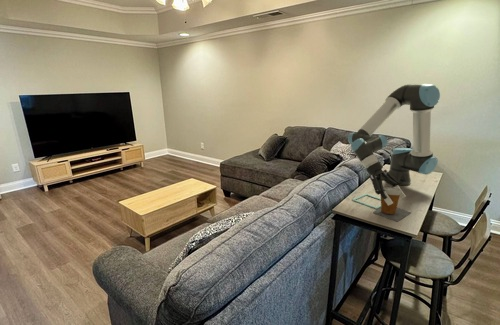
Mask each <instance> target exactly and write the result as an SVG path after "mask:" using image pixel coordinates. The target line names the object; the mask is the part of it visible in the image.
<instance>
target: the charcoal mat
mask: <svg viewBox="0 0 500 325" xmlns="http://www.w3.org/2000/svg"><path fill="white" fill-rule="evenodd" d="M372 213H373V214H376V215H379V216H380V217H383V218H386V219H389V220H392V221H393V222H396V223H398V222H399V221H401V220H402V219H404V218H406V217H407V216H409V215H410V214H412V211H410V210H406V209H403V208H400V207H397V208H396V212H395V214H387V213H384V212H382V211H381V207H380V208H378V209H375V210H374V211H373V212H372Z"/></svg>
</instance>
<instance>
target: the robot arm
mask: <svg viewBox="0 0 500 325" xmlns="http://www.w3.org/2000/svg"><path fill="white" fill-rule="evenodd" d="M440 98H441V93H440V89H439V87H437V86H436V84H435V85H434V84H429V83H420V84H419V83H418V84H417V83H416V84H415V83H414V84H413V83H411V84H410V83H409V84H404V85H402V86H400V87H398V88H396V89H395V90H393V91H392V92H391V93H389V95H387V97H386V98H385V101H384V103H383V104H382V105H381V106H380V107H379V108H378V109H377V110H376V111H375V112H374V113H373V114H372V115H371V116H370V118H369V119H368V120H366V122H365V123H364V124H363V125H362V126H361V127H360V128H359V129H358V130H357V132H354V131H353V132H351V133H349V135H348V137H347V141H348V143H349V144H350V148H351V150H352V152H353V153H354V155H355V156H356V158H358V160H359V161H360V163H361V164H362V166H363V167H364V168H365V170H366V172H367V173H368V174H369V175H370V176H368V177H369V179H370V180H371V182H372V186H373V189H374V192H375V194H376V195H377V196H378V195H380V197H381V196H382V198H383V199H384V200H385V202H386V203H387V205H388V206H389V205H391V204H393V202H392V200H391V199H390V197H389V196H388V194H387V193H386V192H384V189H383V187H384V183H383V182H385V183H387V184H388V185H390V186H391V187H392V188H397V189H400V191H401V194H400V196H399V199H404V198H406V194H405V193H404V192H403V190H402V189H401V187H400V186H409V185H411V182H412V179H411V175H410V171H411V172H414V173H418V174H420V175H426V176H427V175H429V174H431V173H433V172H434V171H435V169H436V168H437V165H438V158H437V157H435V156H434V153H433V152H434V151H433V150H432V149H431V115H432V113H431V112H432V110H434V108H435V106H436V105H438V103H439V100H440ZM405 105H406V106H409V111H410V112H412V148H410V147H409V148H408V147H397V148H393V150H392V152H391V159H390V164H389V165H390V166H389V169H388V170H387V169H384V170H382V169H383V168H384V167H383V165H382V164H381V162H380V161H379V159H378V158H377V156H376V155H375V154H374V153H375V152H377V151H380V150H382V149H384V148H386V147H387V146H388V139H387V137H386V136H385V135H383V134H377V135H375V136H373V134H374V133H375V132H376V131H377V130H378V129H379V128H380V127H381V126H382V125H383V124H384V123H385V122H386V121H387V119H388V118H389V117H391V116H392V114H393V113H394V112H395V111H396V110H400V108H401V107H403V106H405Z"/></svg>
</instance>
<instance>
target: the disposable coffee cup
mask: <svg viewBox="0 0 500 325" xmlns="http://www.w3.org/2000/svg"><path fill="white" fill-rule="evenodd" d="M383 189H384V192H386V193H387V194H388V196H389V197H390V199H391V200H392V202H393V204H391V205H389V206H388V205H387V203H386V202H385V200H384V199H383V198H382V196H381V195H380V198H381V200H380V205H381V207H380V208H381V211H382V212H384V213H387V214H395V212H396V208H398V203H399V200H400V197H399V196H400V194H401V191H400V189H401V188H400V189H397V188H394V187H393V186H383Z"/></svg>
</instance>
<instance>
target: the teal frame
mask: <svg viewBox="0 0 500 325" xmlns="http://www.w3.org/2000/svg"><path fill="white" fill-rule="evenodd" d="M366 196H367V197H370V198H373V199H376V200H378V201H381V197H377V196H374V195H371V194H369V193H363V194H361V195H359V196H357V197H354V198H351V201H353V202H355V201H356V202H355V203H357V204H361V205H363V206H366V207H370V208H372V209H375V210H377V209H379V208H381V204H379V205H377V206H374V205H372V204H369V203H366V202H363V201H361V200H359V199H362V198H364V197H366Z"/></svg>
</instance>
